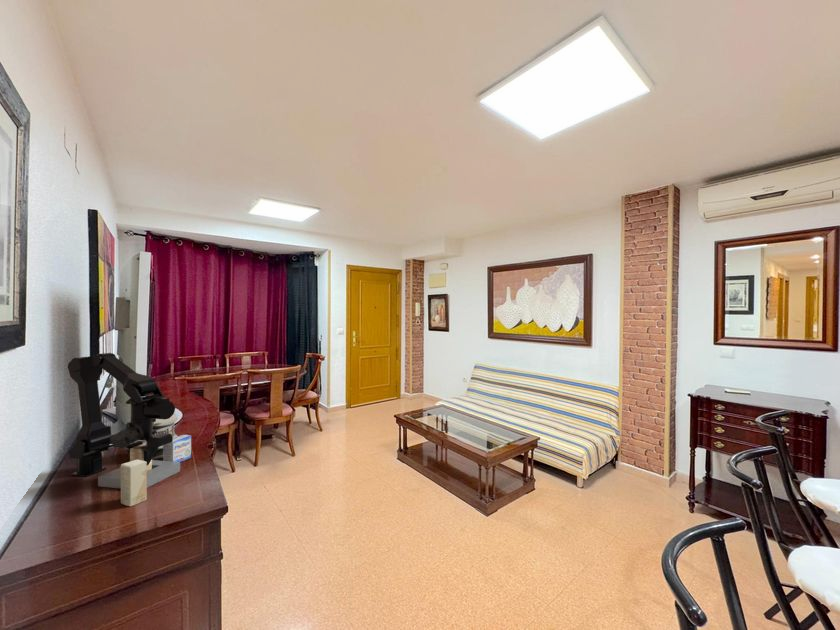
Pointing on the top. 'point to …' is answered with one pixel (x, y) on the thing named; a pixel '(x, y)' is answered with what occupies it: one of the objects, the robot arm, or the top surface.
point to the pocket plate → (153, 476)
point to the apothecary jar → (163, 427)
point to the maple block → (139, 455)
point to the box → (133, 482)
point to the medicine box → (178, 449)
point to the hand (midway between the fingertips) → (141, 464)
